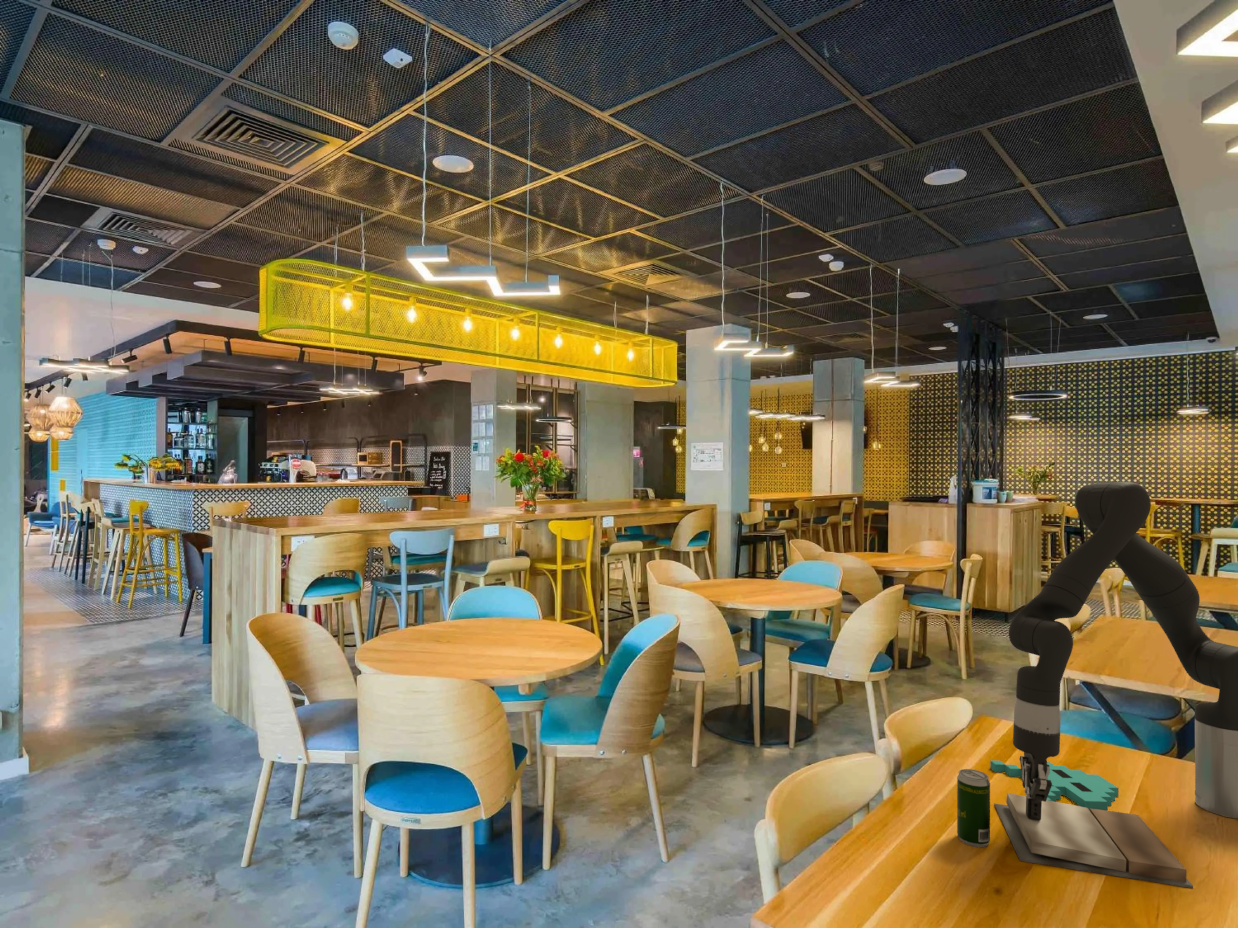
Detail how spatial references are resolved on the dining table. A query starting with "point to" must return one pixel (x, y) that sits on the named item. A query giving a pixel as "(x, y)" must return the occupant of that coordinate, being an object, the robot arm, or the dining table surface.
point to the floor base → (1058, 861)
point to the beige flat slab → (1066, 834)
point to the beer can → (973, 808)
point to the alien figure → (1071, 785)
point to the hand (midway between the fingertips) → (1033, 817)
